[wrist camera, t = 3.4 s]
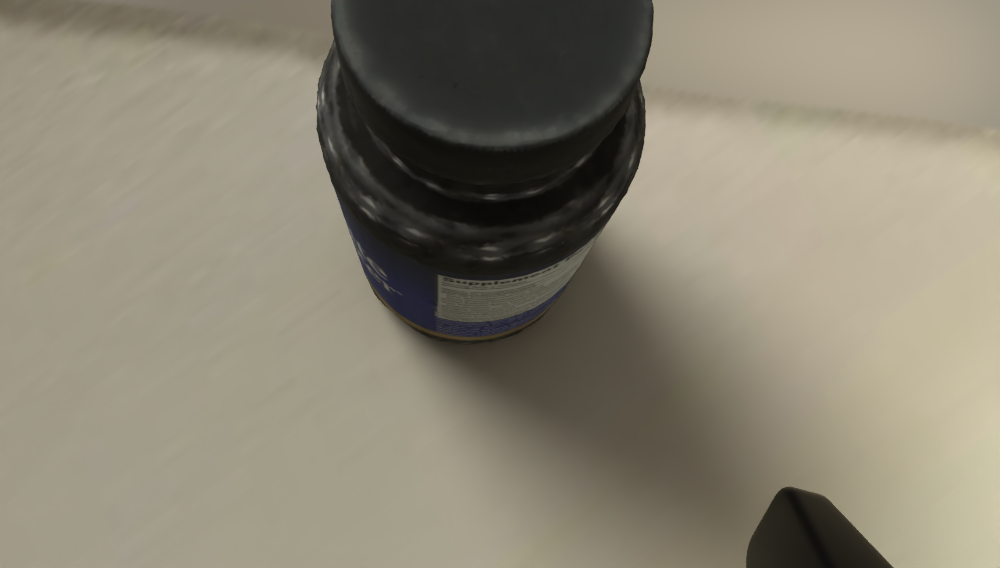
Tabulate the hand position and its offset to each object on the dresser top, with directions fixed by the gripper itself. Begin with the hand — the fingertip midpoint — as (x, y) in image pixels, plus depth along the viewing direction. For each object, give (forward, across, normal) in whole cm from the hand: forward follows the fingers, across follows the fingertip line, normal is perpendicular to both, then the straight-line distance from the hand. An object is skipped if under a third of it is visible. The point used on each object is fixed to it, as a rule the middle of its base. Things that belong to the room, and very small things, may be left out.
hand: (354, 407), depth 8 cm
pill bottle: (+13, 0, +4) cm, 14 cm away
